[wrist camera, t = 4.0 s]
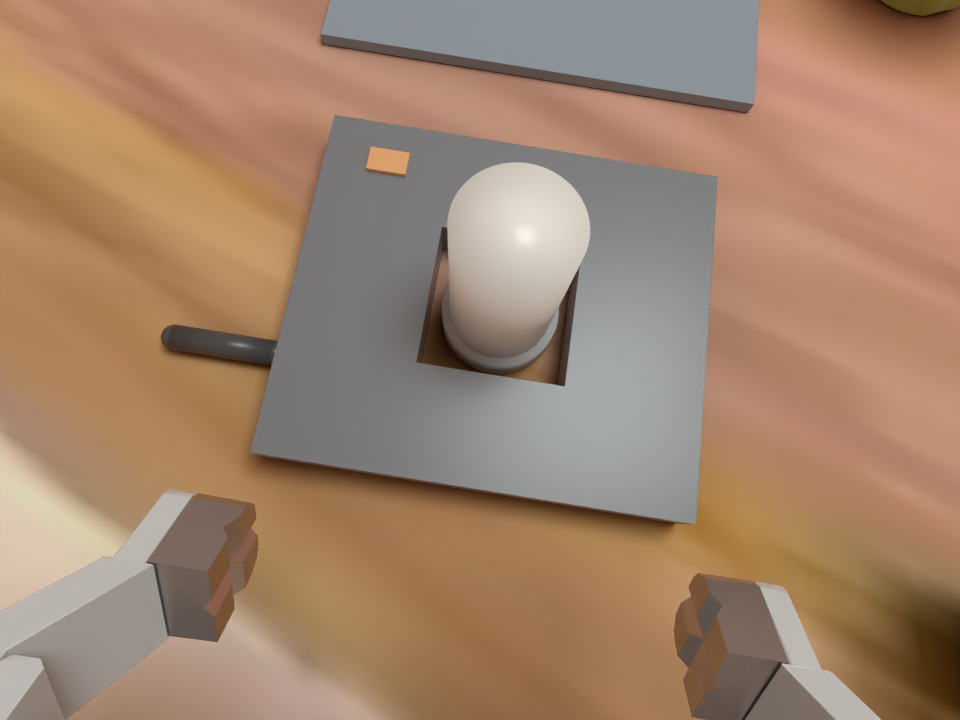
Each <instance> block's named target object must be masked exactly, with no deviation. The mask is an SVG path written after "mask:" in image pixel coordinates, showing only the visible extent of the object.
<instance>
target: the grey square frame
mask: <svg viewBox="0 0 960 720" xmlns="http://www.w3.org/2000/svg"><path fill="white" fill-rule="evenodd" d="M511 162H521V163H530V164H534V165H538V166H541V167H544V168H547V169H549V170H551V171H553V172H555V173H556V174H558V175H559V176H561V177H562V178H564V179H565V180H566V181H567V182H569V183H570V184H571V186H572V187H573V188H574V189H575V190H576V191H577V193H578V194H579V195H580V197H581V199H582V201H583V202H584V204H585V207H586V209H587V212H588V216H589V220H590V240H589V245H588V248H587V251H586V254H585V256H584V258H583V260H582V262H581V264H580V266H579V268H578V270H577V272H576V274H575V276H574V278H573V280H572V282H571V284H570V291H569V299H568V307H567V315H566V323H565V331H564V338H563V346H562V354H561V362H560V370H559V378H558V385H553V384H547V383H541V382H534V381H528V380H522V379H516V378H510V377H503V376H497V375H491V374H485V373H479V372H472V371H466V370H460V369H454V368H448V367H442V366H435V365H429V364H423V363H422V357H423V352H424V347H425V341H426V336H427V331H428V325H429V320H430V315H431V309H432V304H433V299H434V293H435V288H436V282H437V277H438V272H439V266H440V261H441V256H442V250H443V248H444V249H448V232H447V221H448V214H449V210H450V206H451V204H452V201H453V199H454V197H455V196H456V194H457V192H458V191H459V189H460V188H461V187H462V186H463V184H465V183H466V182H467V181H468V180H469V179H470V178H471V177H473V176H474V175H475V174H477V173H478V172H480V171H482V170H484V169H486V168H489V167H491V166H495V165H498V164H503V163H511ZM717 178H718V177H715V176H709V175H703V174H697V173H690V172H684V171H678V170H672V169H666V168H659V167H653V166H647V165H641V164H635V163H629V162H622V161H616V160H610V159H604V158H598V157H591V156H585V155H579V154H573V153H567V152H561V151H554V150H548V149H542V148H536V147H530V146H523V145H517V144H511V143H505V142H499V141H493V140H486V139H480V138H474V137H468V136H462V135H455V134H449V133H443V132H437V131H431V130H425V129H418V128H412V127H406V126H400V125H394V124H387V123H381V122H375V121H369V120H363V119H357V118H350V117H344V116H338V115H335V116H334V120H333V124H332V128H331V132H330V136H329V140H328V144H327V148H326V152H325V156H324V160H323V164H322V168H321V172H320V176H319V180H318V183H317V187H316V191H315V195H314V199H313V203H312V207H311V211H310V215H309V219H308V223H307V227H306V231H305V235H304V239H303V243H302V247H301V251H300V255H299V259H298V263H297V267H296V271H295V275H294V279H293V283H292V287H291V291H290V295H289V299H288V303H287V307H286V311H285V315H284V319H283V322H282V326H281V330H280V334H279V338H278V341H274V340H268V339H262V338H256V337H250V336H243V335H237V334H231V333H225V332H219V331H212V330H206V329H200V328H194V327H188V326H181V325H170V326H168V327H166V328H165V329H164V330H163V331H162V334H161V341H162V343H163V344H164V346H166V347H167V348H169V349H172V350H177V351H184V352H190V353H196V354H202V355H208V356H215V357H221V358H227V359H233V360H239V361H246V362H252V363H258V364H264V365H270V366H271V370H270V374H269V378H268V382H267V386H266V390H265V394H264V398H263V402H262V406H261V410H260V414H259V418H258V422H257V426H256V430H255V434H254V438H253V442H252V446H251V450H250V453H253V454H257V455H260V456H263V457H267V458H273V459H279V460H285V461H291V462H298V463H304V464H310V465H316V466H322V467H329V468H335V469H341V470H347V471H353V472H360V473H366V474H372V475H378V476H384V477H391V478H397V479H403V480H409V481H415V482H422V483H428V484H434V485H440V486H446V487H453V488H459V489H465V490H471V491H477V492H483V493H490V494H496V495H502V496H508V497H514V498H521V499H527V500H533V501H539V502H545V503H552V504H558V505H564V506H570V507H576V508H583V509H589V510H595V511H601V512H607V513H614V514H620V515H626V516H632V517H638V518H645V519H651V520H657V521H663V522H669V523H676V524H696V514H697V498H698V482H699V466H700V450H701V434H702V418H703V402H704V386H705V370H706V354H707V338H708V322H709V306H710V290H711V274H712V258H713V242H714V226H715V210H716V194H717Z"/></svg>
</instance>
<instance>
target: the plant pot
mask: <svg viewBox="0 0 960 720" xmlns="http://www.w3.org/2000/svg"><path fill="white" fill-rule="evenodd" d="M880 1H882V2H883V3H885V4H886V5H888V6H890V7H892V8H894V9H896V10H899V11H902V12H904V13H908V14H913V15H920V16H925V15H930V14H933V13H936V12H940V11H945V10H954V9H956V8H957V7H959V6H960V0H880Z"/></svg>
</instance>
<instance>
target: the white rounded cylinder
mask: <svg viewBox="0 0 960 720" xmlns="http://www.w3.org/2000/svg"><path fill="white" fill-rule="evenodd" d="M447 232H448V270H449V283H448V285H447V287H446V290H445V292H444V296H443V300H442V322H443V330H444V334H445V338H446V340H447V342H448V345H449V346H450V348H451V350H452V351H453V352H454V354H455V355H456V356H457V357H458V358H459V359H460V360H461V361H462V362H464V363H465V364H466V365H468V366H470V367H471V368H473V369H475V370H478V371H481V372H484V373H488V374H509V373H513V372H517V371H520V370H522V369H524V368H526V367H528V366H529V365H531V364H532V363H533V362H535V361H536V360H537V359H538V358H539V357H540V356H541V355H542V353H543V352H544V350H545V349H546V347H547V345H548V344H549V342H550V340H551V338H552V336H553V334H554V332H555V330H556V327H557V323H558V318H559V305H560V303H561V301H562V299H563V297H564V296H565V294H566V292H567V290H568V288H569V286H570V284H571V282H572V280H573V278H574V276H575V274H576V272H577V270H578V268H579V266H580V264H581V262H582V260H583V258H584V256H585V254H586V251H587V248H588V245H589V240H590V220H589V216H588V212H587V209H586V207H585V204H584V202H583V201H582V199H581V197H580V195H579V194H578V193H577V191H576V190H575V189H574V188H573V187H572V186H571V184H570V183H569V182H567V181H566V180H565V179H564V178H562V177H561V176H559V175H558V174H556V173H555V172H553V171H551V170H549V169H547V168H544V167H541V166H538V165H534V164H530V163H521V162H511V163H503V164H498V165H495V166H491V167H489V168H486V169H484V170H482V171H480V172H478V173H477V174H475V175H474V176H473V177H471V178H470V179H469V180H468V181H467V182H466V183H465V184H463V186H462V187H461V188H460V189H459V191H458V192H457V194H456V196H455V197H454V199H453V201H452V204H451V206H450V210H449V214H448V221H447Z"/></svg>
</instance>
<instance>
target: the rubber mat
mask: <svg viewBox="0 0 960 720" xmlns="http://www.w3.org/2000/svg"><path fill="white" fill-rule="evenodd" d="M758 6H759V0H330V2H329V6H328V10H327V14H326V17H325V21H324V25H323V28H322V32H321V36H322V40H323V43H324V44H326V45H333V46H339V47H345V48H351V49H357V50H363V51H370V52H376V53H382V54H388V55H394V56H401V57H407V58H413V59H419V60H425V61H431V62H438V63H444V64H450V65H456V66H462V67H469V68H475V69H481V70H487V71H493V72H499V73H506V74H512V75H518V76H524V77H530V78H537V79H543V80H549V81H555V82H561V83H567V84H574V85H580V86H586V87H592V88H598V89H604V90H611V91H617V92H623V93H629V94H635V95H642V96H648V97H654V98H660V99H666V100H672V101H679V102H685V103H691V104H697V105H703V106H710V107H716V108H722V109H728V110H734V111H740V112H747V113H748V112H749V110H750V109H751V107H752V106H753V105H754V91H755V70H756V48H757V27H758Z"/></svg>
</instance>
